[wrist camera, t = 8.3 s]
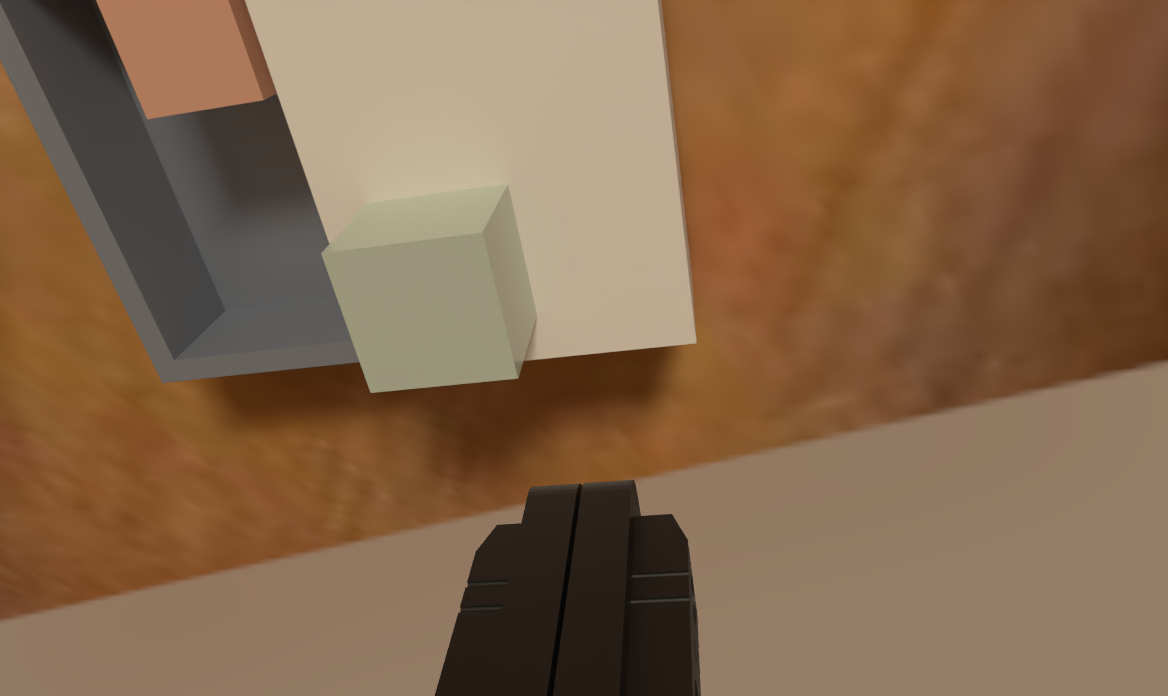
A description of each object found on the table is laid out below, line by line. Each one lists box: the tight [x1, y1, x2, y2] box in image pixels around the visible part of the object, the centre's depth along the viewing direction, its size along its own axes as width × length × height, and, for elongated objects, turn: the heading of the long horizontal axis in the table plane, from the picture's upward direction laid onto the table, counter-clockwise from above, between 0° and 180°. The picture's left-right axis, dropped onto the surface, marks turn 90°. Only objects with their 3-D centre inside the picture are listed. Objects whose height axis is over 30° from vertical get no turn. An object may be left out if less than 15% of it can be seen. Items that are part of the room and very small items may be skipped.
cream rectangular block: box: [245, 0, 696, 361], centre depth 23 cm, size 10×14×5 cm
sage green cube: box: [321, 184, 537, 393], centre depth 21 cm, size 4×4×4 cm
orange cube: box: [96, 0, 277, 119], centre depth 22 cm, size 4×4×4 cm
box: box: [0, 0, 359, 383], centre depth 25 cm, size 8×14×4 cm, turn 9°
